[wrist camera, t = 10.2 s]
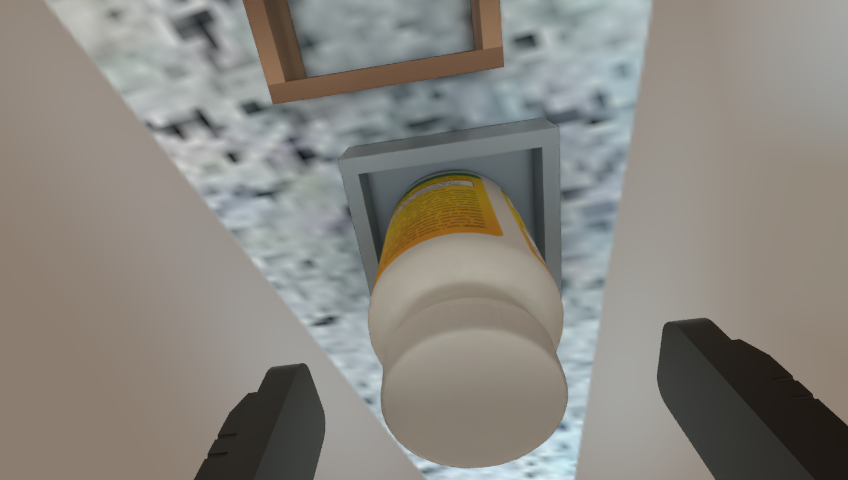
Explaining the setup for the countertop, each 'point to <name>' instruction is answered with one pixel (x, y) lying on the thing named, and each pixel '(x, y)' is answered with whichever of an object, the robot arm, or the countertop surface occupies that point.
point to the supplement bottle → (466, 326)
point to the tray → (459, 151)
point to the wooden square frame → (291, 84)
